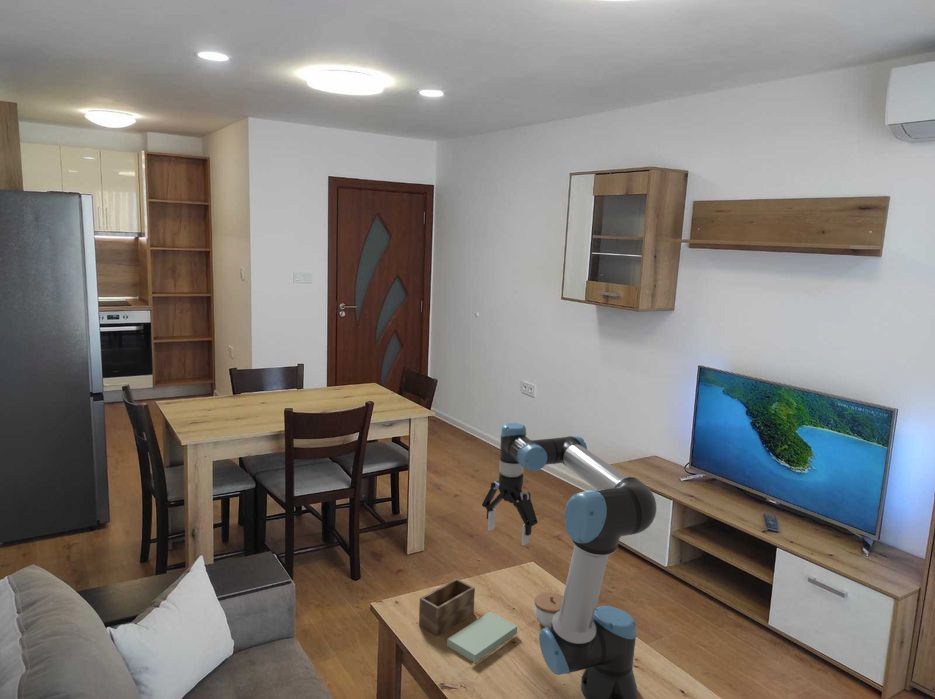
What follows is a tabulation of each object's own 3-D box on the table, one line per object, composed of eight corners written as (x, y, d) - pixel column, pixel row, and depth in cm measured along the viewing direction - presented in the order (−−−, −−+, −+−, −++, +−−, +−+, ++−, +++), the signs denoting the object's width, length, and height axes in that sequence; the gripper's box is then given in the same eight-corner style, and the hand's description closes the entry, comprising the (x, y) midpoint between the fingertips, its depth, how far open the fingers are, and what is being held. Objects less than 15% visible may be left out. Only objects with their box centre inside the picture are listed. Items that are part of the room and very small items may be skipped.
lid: (489, 621, 216) (490, 611, 215) (516, 636, 209) (517, 626, 208) (446, 649, 201) (447, 638, 200) (474, 666, 194) (475, 655, 193)
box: (455, 605, 223) (456, 578, 221) (473, 615, 218) (474, 587, 216) (418, 627, 211) (419, 598, 209) (437, 638, 205) (438, 608, 204)
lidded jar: (565, 635, 210) (567, 608, 208) (531, 630, 212) (533, 602, 210) (567, 616, 220) (569, 590, 218) (534, 611, 222) (536, 585, 220)
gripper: (551, 480, 202) (547, 546, 206) (488, 459, 218) (485, 520, 222) (536, 487, 197) (532, 554, 201) (473, 465, 213) (470, 527, 217)
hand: (507, 536), depth 212 cm, fingers open, 13 cm apart
